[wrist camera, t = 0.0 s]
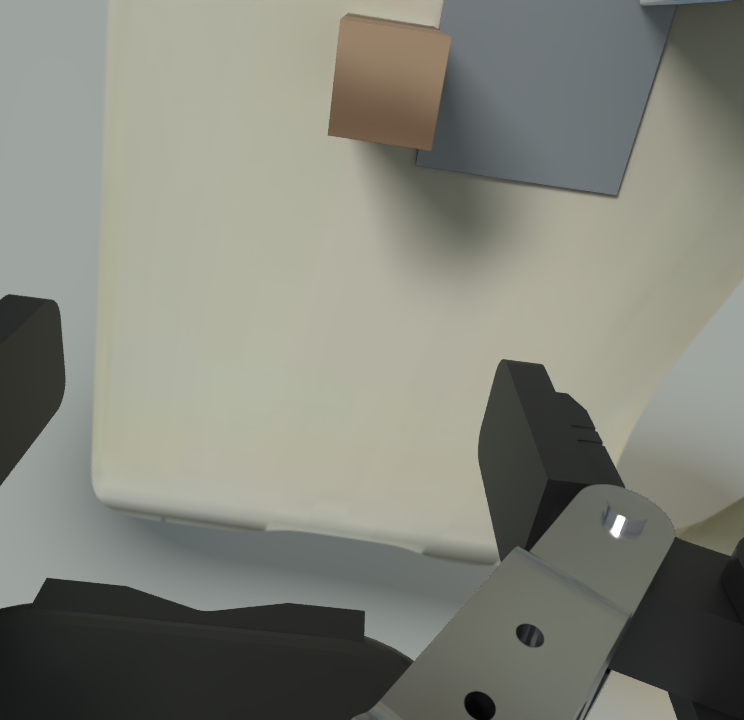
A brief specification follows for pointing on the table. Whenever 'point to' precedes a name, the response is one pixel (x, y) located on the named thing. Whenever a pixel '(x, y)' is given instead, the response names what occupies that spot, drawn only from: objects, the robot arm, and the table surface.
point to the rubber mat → (546, 89)
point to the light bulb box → (674, 1)
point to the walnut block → (388, 81)
